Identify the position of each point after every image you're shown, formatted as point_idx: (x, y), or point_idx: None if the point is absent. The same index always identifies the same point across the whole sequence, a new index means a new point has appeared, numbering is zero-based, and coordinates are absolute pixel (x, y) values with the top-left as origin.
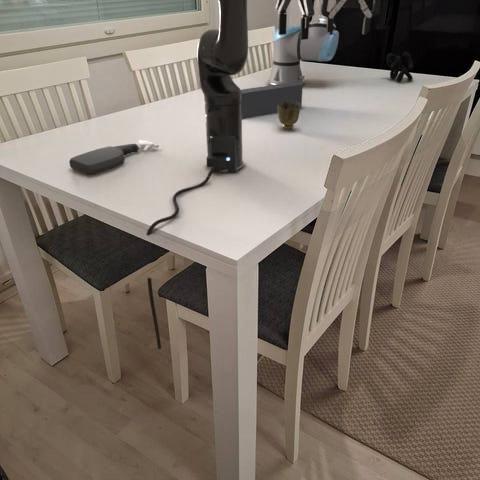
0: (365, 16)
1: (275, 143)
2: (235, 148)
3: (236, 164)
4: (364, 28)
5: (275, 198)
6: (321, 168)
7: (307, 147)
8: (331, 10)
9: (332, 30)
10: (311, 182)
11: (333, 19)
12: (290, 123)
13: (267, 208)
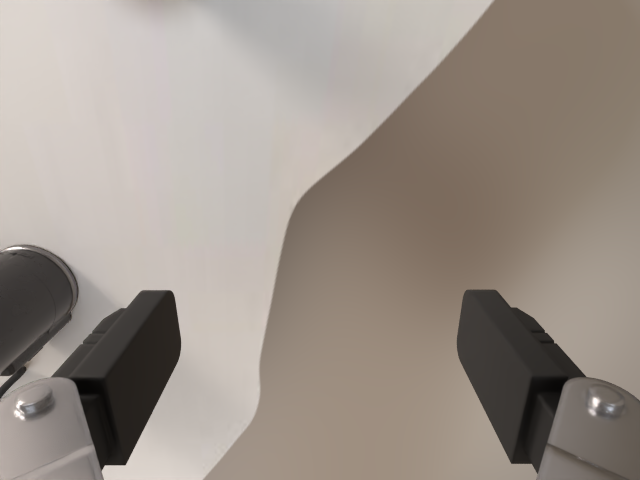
0: (542, 431)
1: (132, 116)
2: (34, 353)
3: (61, 319)
4: (474, 387)
5: (176, 416)
6: (266, 293)
7: (234, 152)
8: (11, 477)
9: (165, 377)
10: (242, 358)
11: (122, 459)
12: None
13: (166, 445)
